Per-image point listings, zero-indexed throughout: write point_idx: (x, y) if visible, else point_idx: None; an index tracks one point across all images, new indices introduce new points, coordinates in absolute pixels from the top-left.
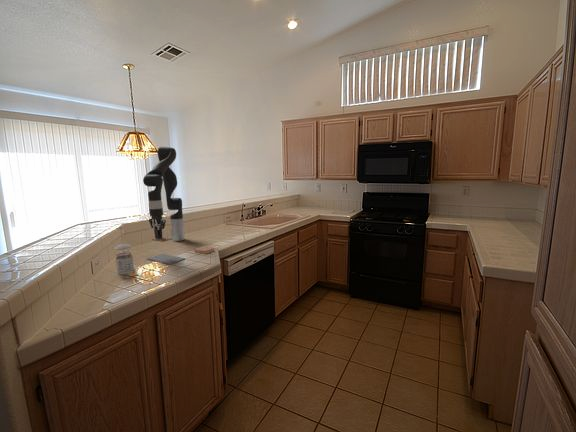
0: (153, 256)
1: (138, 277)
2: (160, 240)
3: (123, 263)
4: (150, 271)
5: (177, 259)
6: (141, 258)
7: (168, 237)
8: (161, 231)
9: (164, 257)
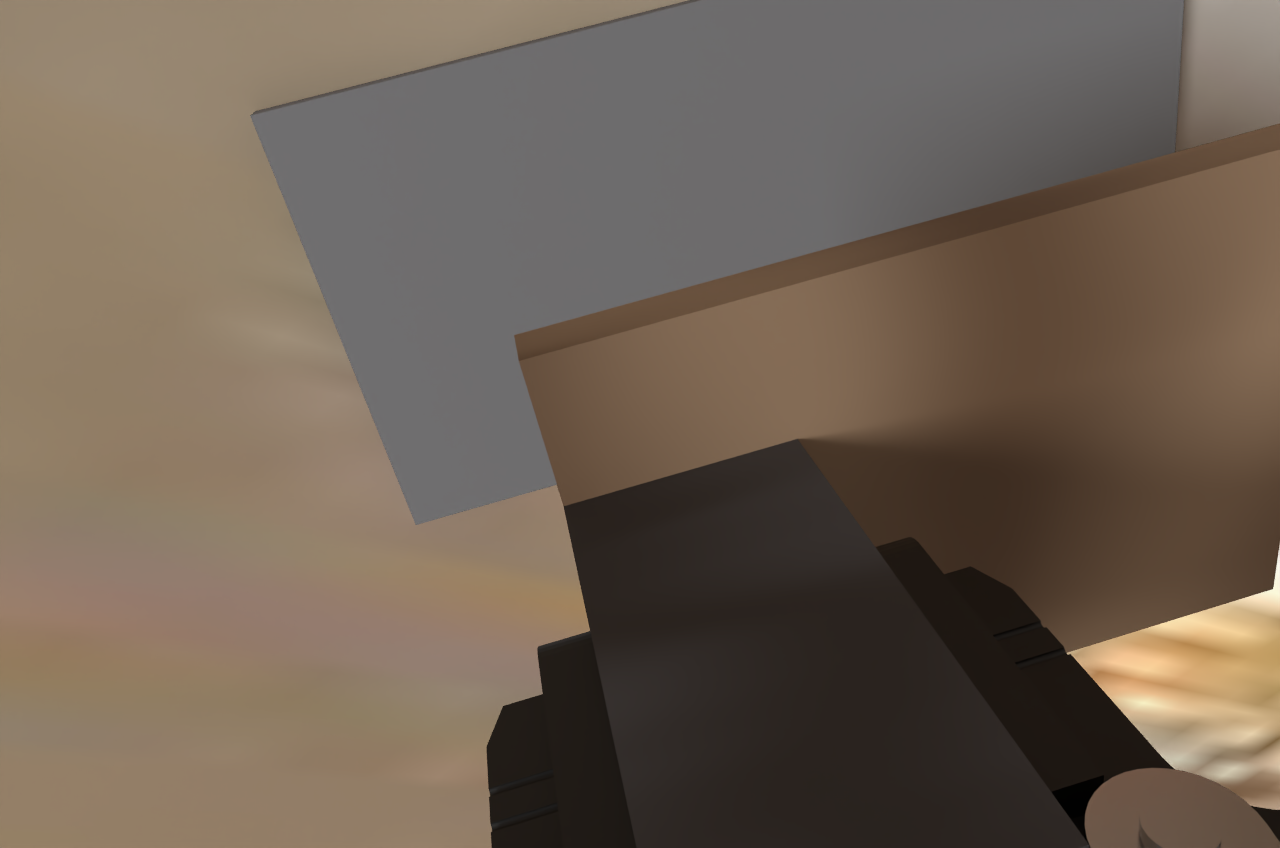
0: (379, 377)
1: (1179, 762)
2: (1139, 622)
3: None
4: None
5: (1087, 65)
6: (261, 571)
7: (1050, 235)
8: (1099, 725)
9: (678, 219)
